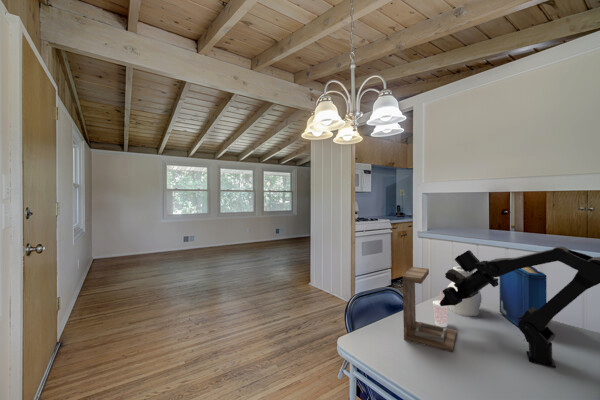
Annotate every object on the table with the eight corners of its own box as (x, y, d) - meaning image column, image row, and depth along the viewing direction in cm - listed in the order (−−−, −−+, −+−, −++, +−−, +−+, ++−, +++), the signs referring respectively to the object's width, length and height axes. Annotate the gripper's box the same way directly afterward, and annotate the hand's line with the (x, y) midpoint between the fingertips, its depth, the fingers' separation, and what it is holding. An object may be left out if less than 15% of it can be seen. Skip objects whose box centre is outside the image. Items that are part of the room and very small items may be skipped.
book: (551, 339, 100) (549, 271, 100) (529, 337, 101) (527, 271, 101) (516, 314, 121) (515, 259, 121) (499, 313, 122) (497, 258, 123)
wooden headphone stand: (452, 352, 92) (451, 282, 92) (403, 339, 101) (402, 275, 101) (456, 333, 105) (455, 271, 106) (413, 323, 114) (412, 266, 115)
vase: (476, 306, 131) (475, 265, 131) (486, 318, 117) (485, 273, 117) (443, 303, 135) (442, 263, 135) (450, 315, 122) (449, 271, 122)
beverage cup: (439, 320, 117) (438, 287, 117) (452, 325, 111) (452, 292, 112) (429, 323, 114) (429, 290, 114) (442, 329, 109) (442, 294, 109)
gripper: (469, 260, 112) (443, 281, 121) (447, 268, 101) (420, 289, 110) (491, 284, 106) (462, 303, 115) (470, 294, 95) (439, 315, 104)
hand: (445, 302), depth 111 cm, fingers open, 9 cm apart
